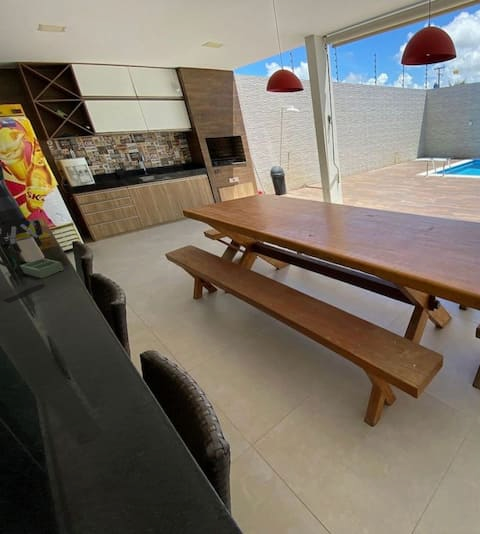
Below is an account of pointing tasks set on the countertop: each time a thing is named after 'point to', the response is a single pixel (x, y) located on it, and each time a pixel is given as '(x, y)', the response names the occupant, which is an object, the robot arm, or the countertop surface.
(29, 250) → the beige rectangular block
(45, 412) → the countertop surface
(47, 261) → the holder
